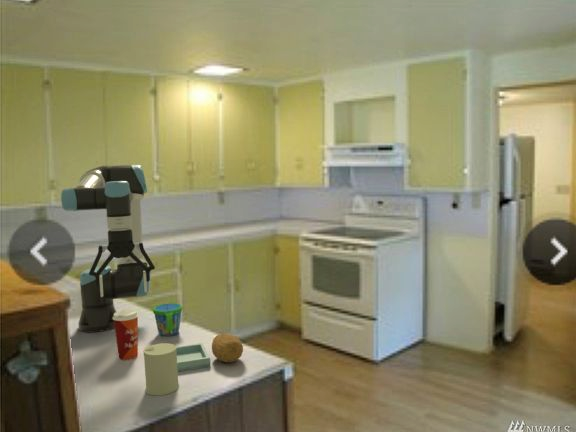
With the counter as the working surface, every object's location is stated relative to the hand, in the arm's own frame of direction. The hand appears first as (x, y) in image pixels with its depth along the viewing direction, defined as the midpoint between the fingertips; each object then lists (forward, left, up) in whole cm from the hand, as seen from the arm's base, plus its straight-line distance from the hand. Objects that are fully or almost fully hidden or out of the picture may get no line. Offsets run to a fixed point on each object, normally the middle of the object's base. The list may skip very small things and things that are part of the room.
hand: (124, 293), depth 166 cm
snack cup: (-18, +15, -22) cm, 32 cm away
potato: (+16, +30, -22) cm, 40 cm away
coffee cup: (0, 0, -22) cm, 22 cm away
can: (+29, +9, -22) cm, 37 cm away
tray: (+12, +18, -21) cm, 30 cm away
